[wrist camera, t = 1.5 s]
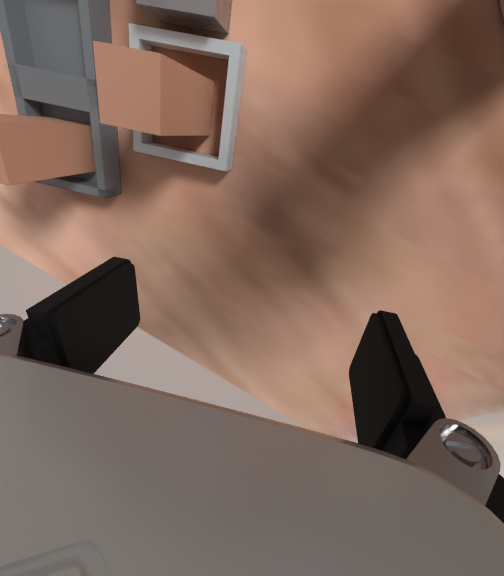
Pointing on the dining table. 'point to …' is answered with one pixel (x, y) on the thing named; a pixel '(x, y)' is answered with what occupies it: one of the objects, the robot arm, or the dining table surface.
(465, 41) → the dining table surface
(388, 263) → the dining table surface
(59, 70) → the grey two-slot rack
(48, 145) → the block
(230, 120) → the light grey square frame
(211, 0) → the grey square holder
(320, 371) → the dining table surface
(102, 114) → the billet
